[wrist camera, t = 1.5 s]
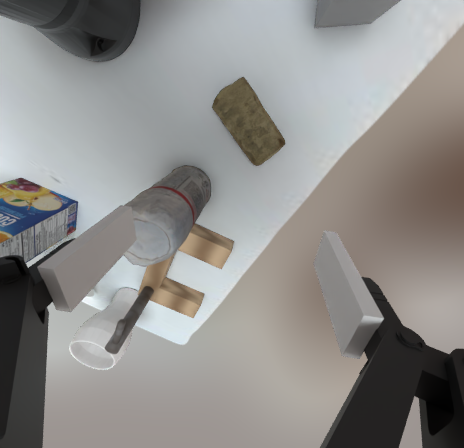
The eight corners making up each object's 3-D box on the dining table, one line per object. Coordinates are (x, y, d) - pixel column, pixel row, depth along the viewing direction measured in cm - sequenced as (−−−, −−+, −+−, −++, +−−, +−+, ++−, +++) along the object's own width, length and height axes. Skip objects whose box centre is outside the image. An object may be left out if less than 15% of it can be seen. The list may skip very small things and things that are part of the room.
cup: (151, 316, 60) (120, 376, 47) (113, 308, 61) (72, 365, 47) (150, 287, 55) (114, 345, 42) (108, 279, 56) (60, 333, 42)
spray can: (177, 154, 39) (105, 195, 21) (220, 176, 40) (185, 232, 22) (163, 195, 43) (93, 257, 25) (202, 214, 44) (161, 287, 26)
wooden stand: (144, 284, 55) (97, 354, 39) (170, 211, 44) (119, 268, 29) (197, 306, 56) (171, 382, 41) (233, 241, 46) (218, 310, 30)
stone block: (257, 162, 38) (256, 170, 33) (213, 103, 35) (205, 102, 30) (286, 140, 36) (289, 145, 31) (242, 74, 32) (238, 69, 28)
